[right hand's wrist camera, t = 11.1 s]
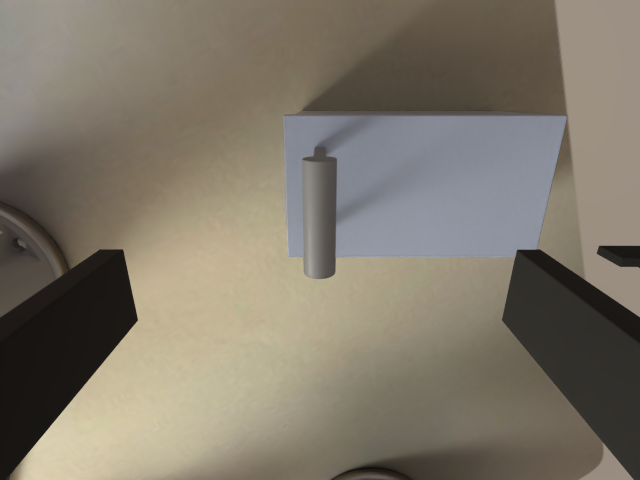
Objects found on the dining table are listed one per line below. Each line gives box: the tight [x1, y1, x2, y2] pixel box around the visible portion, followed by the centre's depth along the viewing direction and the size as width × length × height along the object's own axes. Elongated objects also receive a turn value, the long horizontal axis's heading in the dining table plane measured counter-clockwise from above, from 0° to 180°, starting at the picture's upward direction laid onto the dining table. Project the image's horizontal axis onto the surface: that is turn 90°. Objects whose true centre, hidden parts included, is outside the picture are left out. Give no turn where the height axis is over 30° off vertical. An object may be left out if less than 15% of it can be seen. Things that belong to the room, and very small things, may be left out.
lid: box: [283, 115, 567, 279], centre depth 22 cm, size 18×10×8 cm, turn 90°
